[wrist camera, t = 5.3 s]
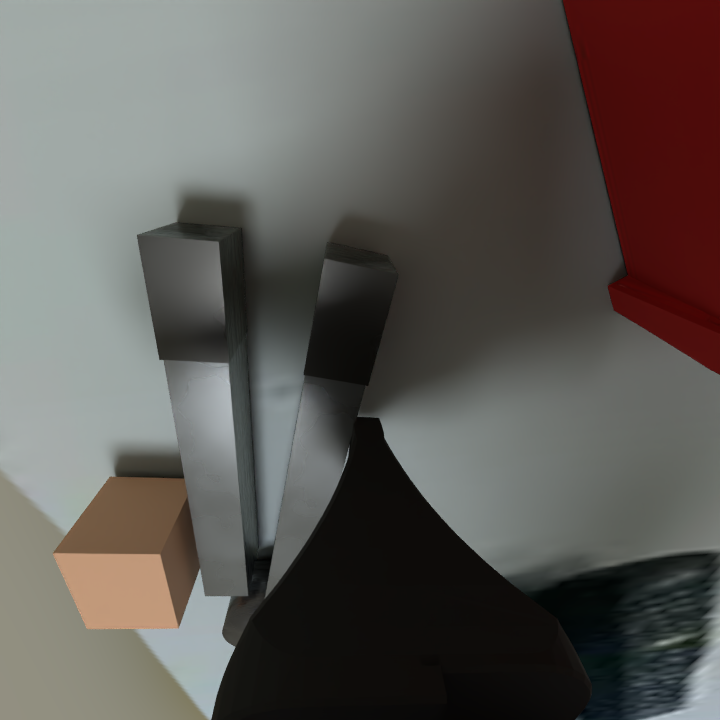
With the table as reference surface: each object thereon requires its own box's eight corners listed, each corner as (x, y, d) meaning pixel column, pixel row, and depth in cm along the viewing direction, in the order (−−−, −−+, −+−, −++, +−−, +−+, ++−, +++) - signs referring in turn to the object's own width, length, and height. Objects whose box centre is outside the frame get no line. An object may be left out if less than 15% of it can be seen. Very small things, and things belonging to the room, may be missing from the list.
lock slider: (206, 549, 15) (178, 628, 13) (131, 548, 15) (87, 629, 12) (195, 479, 14) (159, 554, 11) (110, 476, 13) (52, 553, 11)
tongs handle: (259, 548, 16) (248, 598, 14) (219, 547, 16) (203, 598, 14) (241, 228, 10) (218, 241, 8) (175, 222, 10) (136, 234, 8)
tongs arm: (300, 598, 17) (295, 652, 15) (234, 593, 17) (220, 648, 15) (387, 255, 10) (399, 275, 8) (277, 230, 10) (261, 246, 8)
